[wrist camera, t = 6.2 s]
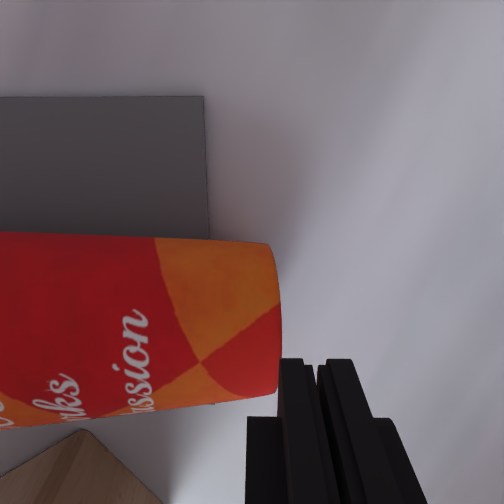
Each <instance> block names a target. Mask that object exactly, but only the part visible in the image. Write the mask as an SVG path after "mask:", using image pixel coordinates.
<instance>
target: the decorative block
mask: <svg viewBox="0 0 504 504" xmlns="http://www.w3.org/2000/svg"><path fill="white" fill-rule="evenodd" d="M0 504H163V503H162V502H161V501H160V500H159V499H158V498H157V497H156V496H155V495H153V494H152V493H151V492H150V491H149V490H148V489H147V488H146V487H145V486H144V485H143V484H142V483H141V482H140V481H139V480H138V479H137V478H136V477H135V476H134V475H133V474H132V473H131V472H130V471H129V470H128V469H127V468H126V467H125V466H124V465H123V464H122V463H121V462H120V461H119V460H118V459H117V458H116V457H115V456H114V455H113V454H112V453H111V452H110V451H109V450H107V449H106V448H105V447H104V446H103V445H102V444H101V443H100V442H99V441H98V440H97V439H96V438H95V437H94V436H93V435H92V434H91V433H90V432H89V431H85V430H79V431H77V432H76V433H74V434H72V435H71V436H69V437H67V438H66V439H64V440H62V441H61V442H59V443H57V444H56V445H54V446H52V447H51V448H49V449H47V450H46V451H44V452H42V453H41V454H39V455H37V456H36V457H34V458H32V459H31V460H29V461H27V462H26V463H24V464H22V465H21V466H19V467H17V468H16V469H14V470H12V471H11V472H9V473H7V474H6V475H4V476H2V477H1V478H0Z"/></svg>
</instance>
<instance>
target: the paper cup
mask: <svg viewBox="0 0 504 504" xmlns="http://www.w3.org/2000/svg"><path fill="white" fill-rule="evenodd" d="M280 358H282V318H281V302H280V291H279V283H278V276H277V270H276V265H275V260H274V257H273V253H272V251H271V248H270V247H269V245H267V244H262V243H252V242H238V241H222V240H203V239H181V238H159V237H135V236H111V235H86V234H61V233H35V232H9V231H0V430H5V429H14V428H22V427H30V426H38V425H46V424H55V423H63V422H71V421H79V420H87V419H95V418H103V417H111V416H119V415H127V414H135V413H143V412H151V411H159V410H167V409H174V408H182V407H190V406H197V405H205V404H213V403H220V402H227V401H234V400H241V399H248V398H254V397H259V396H265V395H269V394H273V393H275V392H276V390H277V387H278V379H279V359H280Z"/></svg>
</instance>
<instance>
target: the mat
mask: <svg viewBox="0 0 504 504" xmlns="http://www.w3.org/2000/svg"><path fill="white" fill-rule="evenodd" d="M0 231H9V232H35V233H61V234H86V235H111V236H135V237H159V238H181V239H203V240H209V224H208V200H207V175H206V151H205V127H204V103H203V96H143V97H0ZM213 404H215V403H213Z"/></svg>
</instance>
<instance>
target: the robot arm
mask: <svg viewBox="0 0 504 504" xmlns="http://www.w3.org/2000/svg"><path fill="white" fill-rule="evenodd" d="M245 504H428V503H427V501H426V499H425V496H424V494H423V491H422V489H421V487H420V484H419V482H418V479H417V477H416V475H415V472H414V470H413V468H412V465H411V463H410V460H409V458H408V456H407V453H406V451H405V449H404V446H403V444H402V441H401V439H400V437H399V434H398V432H397V429H396V427H395V425H394V423H393V421H392V420H391V419H390V418H373V417H372V414H371V411H370V408H369V405H368V403H367V400H366V397H365V394H364V392H363V389H362V386H361V383H360V381H359V378H358V375H357V372H356V370H355V367H354V364H353V362H352V360H351V359H327V361H326V365H318V371H317V385H316V381H315V377H314V372H313V367H312V365H304V362H303V359H302V358H280V359H279V379H278V410H277V417H256V416H247V444H246V481H245Z"/></svg>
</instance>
